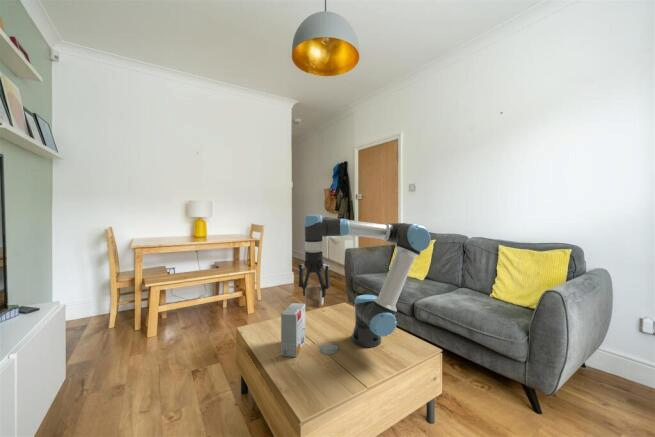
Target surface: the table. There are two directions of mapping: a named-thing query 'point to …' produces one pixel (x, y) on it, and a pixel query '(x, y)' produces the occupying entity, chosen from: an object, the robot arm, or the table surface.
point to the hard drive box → (292, 329)
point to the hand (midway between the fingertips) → (314, 303)
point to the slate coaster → (328, 348)
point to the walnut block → (313, 295)
